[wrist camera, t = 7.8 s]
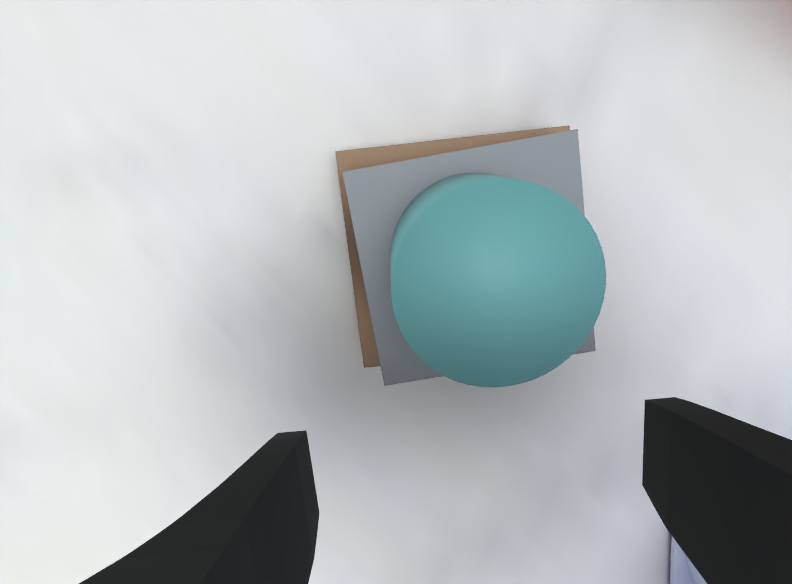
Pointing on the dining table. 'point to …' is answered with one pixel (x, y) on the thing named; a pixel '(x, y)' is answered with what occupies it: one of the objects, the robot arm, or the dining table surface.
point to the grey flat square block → (402, 181)
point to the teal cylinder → (494, 278)
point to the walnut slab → (390, 155)
